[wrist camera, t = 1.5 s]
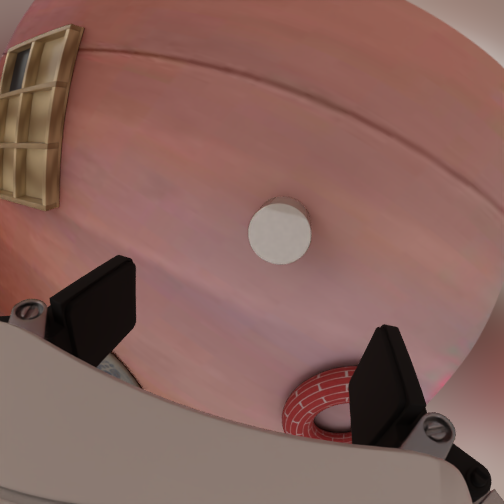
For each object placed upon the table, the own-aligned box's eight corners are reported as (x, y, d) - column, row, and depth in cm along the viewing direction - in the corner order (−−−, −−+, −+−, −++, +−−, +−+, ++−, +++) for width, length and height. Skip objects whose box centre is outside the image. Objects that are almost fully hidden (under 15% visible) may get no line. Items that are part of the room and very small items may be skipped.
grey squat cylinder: (261, 190, 22) (254, 197, 19) (317, 203, 22) (318, 212, 19) (251, 242, 24) (242, 256, 21) (303, 255, 24) (302, 271, 21)
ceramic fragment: (66, 359, 33) (98, 361, 29) (79, 347, 36) (113, 346, 32) (106, 412, 36) (145, 421, 32) (116, 400, 39) (156, 406, 35)
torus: (387, 439, 30) (389, 459, 26) (285, 442, 33) (281, 463, 29) (417, 353, 25) (426, 376, 21) (281, 359, 28) (277, 384, 24)
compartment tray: (19, 50, 21) (8, 49, 19) (84, 28, 19) (71, 23, 17) (3, 192, 28) (-9, 196, 26) (59, 206, 27) (45, 211, 25)
